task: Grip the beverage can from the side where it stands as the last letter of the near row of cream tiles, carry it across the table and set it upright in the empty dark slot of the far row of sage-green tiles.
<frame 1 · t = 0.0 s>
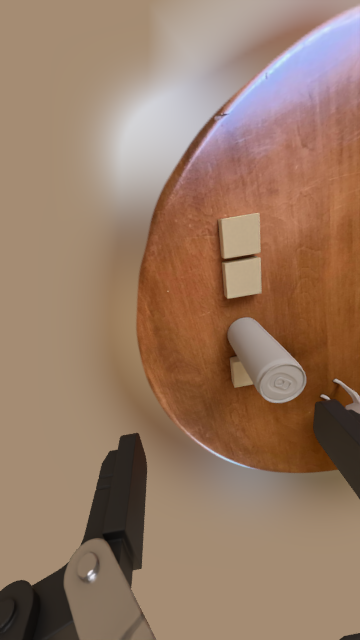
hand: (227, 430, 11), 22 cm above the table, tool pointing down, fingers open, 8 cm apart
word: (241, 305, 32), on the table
beverage can: (242, 331, 34), on the table
cat figurine: (352, 397, 40), on the table
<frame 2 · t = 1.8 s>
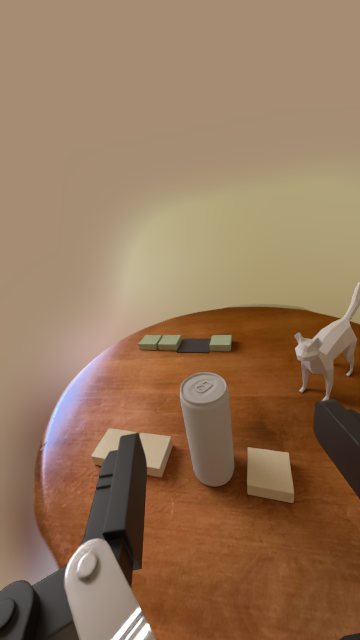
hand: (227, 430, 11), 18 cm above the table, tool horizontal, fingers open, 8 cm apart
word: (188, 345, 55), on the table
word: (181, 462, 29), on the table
beverage can: (214, 469, 28), on the table
cat figurine: (328, 379, 39), on the table
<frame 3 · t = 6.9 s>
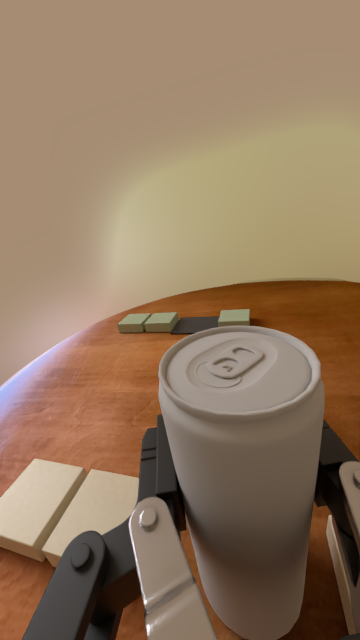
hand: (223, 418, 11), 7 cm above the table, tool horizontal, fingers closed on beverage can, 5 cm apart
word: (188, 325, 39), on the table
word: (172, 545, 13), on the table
beverage can: (249, 569, 12), on the table, touching gripper
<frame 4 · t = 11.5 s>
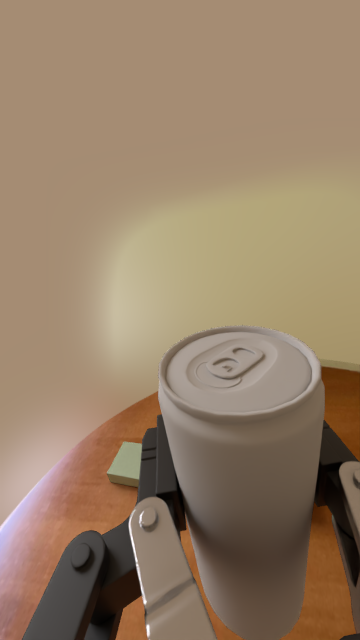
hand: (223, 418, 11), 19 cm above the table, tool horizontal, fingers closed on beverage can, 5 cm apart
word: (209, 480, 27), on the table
beverage can: (249, 569, 12), point 11 cm above the table, touching gripper
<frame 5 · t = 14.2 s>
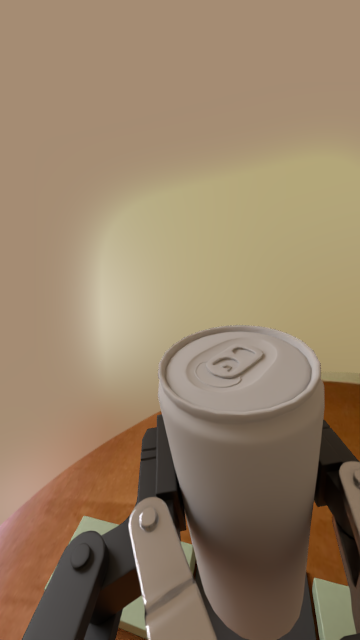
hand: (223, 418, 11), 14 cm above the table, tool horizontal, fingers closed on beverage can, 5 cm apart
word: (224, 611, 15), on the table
beverage can: (249, 569, 12), point 7 cm above the table, touching gripper
when the fingers open (7 cm above the table, at t = 16.4 s): beverage can stays where it is, resting on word.
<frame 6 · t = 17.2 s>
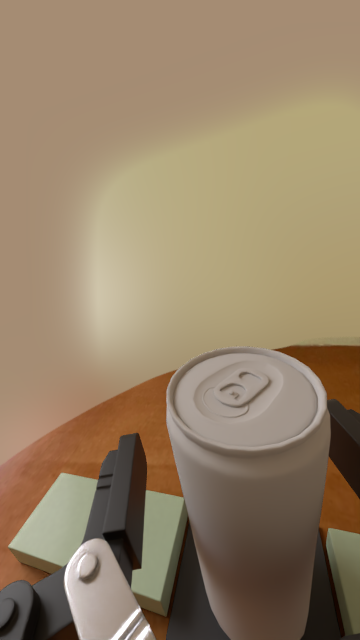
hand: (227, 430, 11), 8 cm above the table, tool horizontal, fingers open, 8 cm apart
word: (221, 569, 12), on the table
beverage can: (254, 582, 12), resting on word
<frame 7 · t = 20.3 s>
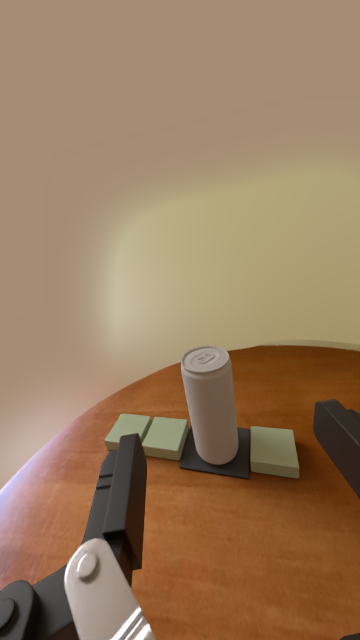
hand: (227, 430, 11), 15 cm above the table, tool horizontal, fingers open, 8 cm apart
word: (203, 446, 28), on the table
beverage can: (217, 449, 27), resting on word
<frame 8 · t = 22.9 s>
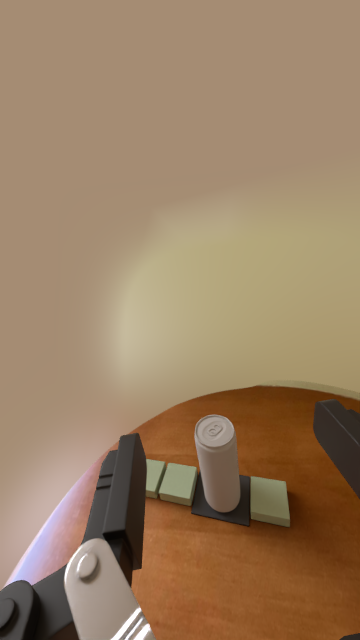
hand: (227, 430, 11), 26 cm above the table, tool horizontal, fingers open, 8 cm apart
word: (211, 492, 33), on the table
beverage can: (223, 495, 32), resting on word
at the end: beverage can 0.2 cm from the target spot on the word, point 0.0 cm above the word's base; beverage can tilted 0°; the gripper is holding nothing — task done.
